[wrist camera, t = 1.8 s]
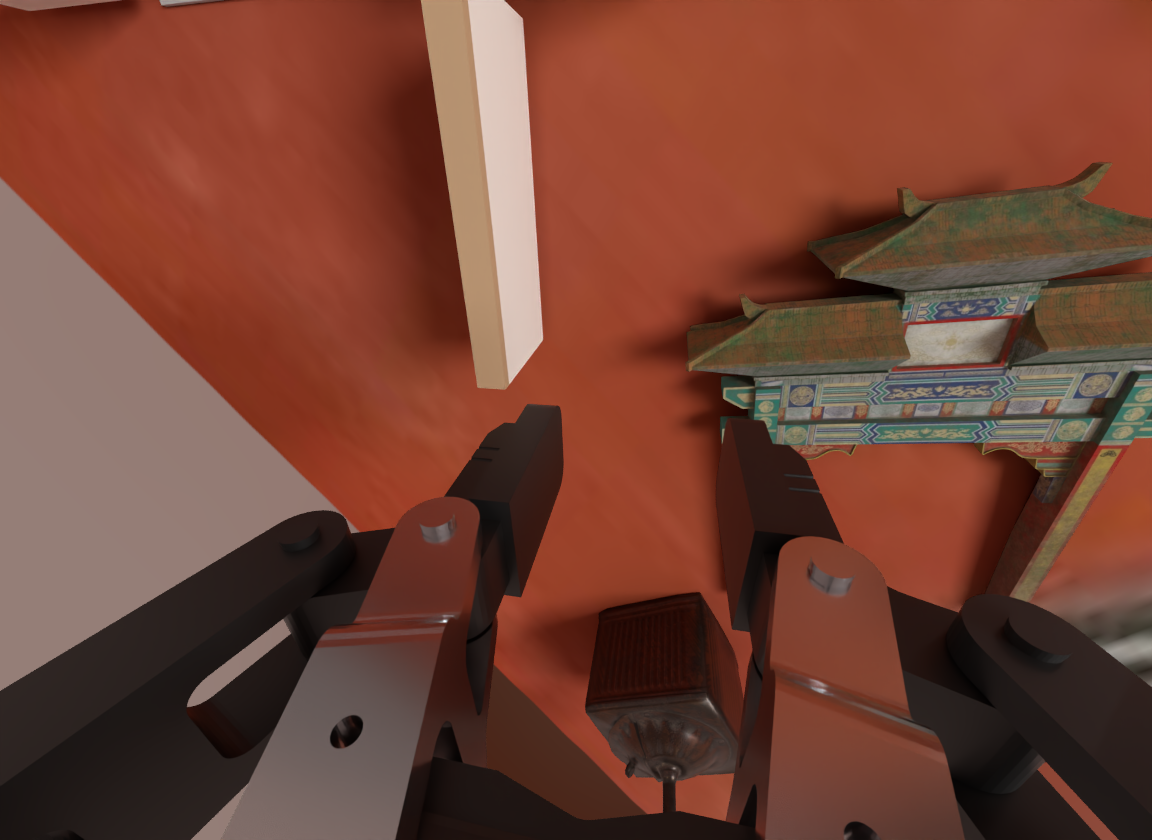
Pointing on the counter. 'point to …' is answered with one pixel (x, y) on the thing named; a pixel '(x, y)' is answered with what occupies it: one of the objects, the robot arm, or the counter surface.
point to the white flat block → (488, 176)
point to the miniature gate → (965, 348)
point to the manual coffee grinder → (666, 690)
